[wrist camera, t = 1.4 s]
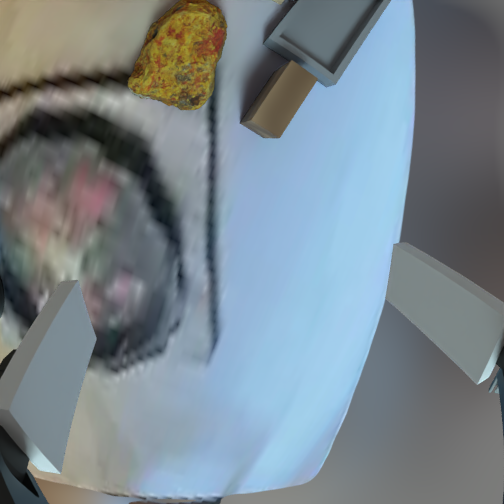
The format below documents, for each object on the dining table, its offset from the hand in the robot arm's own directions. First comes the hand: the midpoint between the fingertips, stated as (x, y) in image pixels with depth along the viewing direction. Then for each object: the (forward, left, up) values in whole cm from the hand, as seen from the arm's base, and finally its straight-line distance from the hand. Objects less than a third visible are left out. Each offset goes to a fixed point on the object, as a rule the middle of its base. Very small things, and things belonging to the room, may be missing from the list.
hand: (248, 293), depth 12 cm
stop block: (+1, +12, -23) cm, 25 cm away
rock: (-10, +11, -23) cm, 28 cm away
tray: (+1, +26, -23) cm, 34 cm away
